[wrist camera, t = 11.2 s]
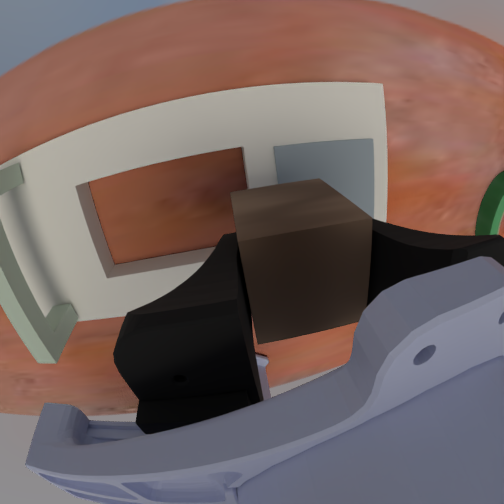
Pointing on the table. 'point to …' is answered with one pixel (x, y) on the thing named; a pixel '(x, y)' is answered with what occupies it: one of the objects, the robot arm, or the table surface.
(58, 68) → the table surface
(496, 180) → the tape roll
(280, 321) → the walnut block
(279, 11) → the table surface
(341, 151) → the puzzle board
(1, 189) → the sliding bridge
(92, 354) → the table surface
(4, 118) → the table surface
